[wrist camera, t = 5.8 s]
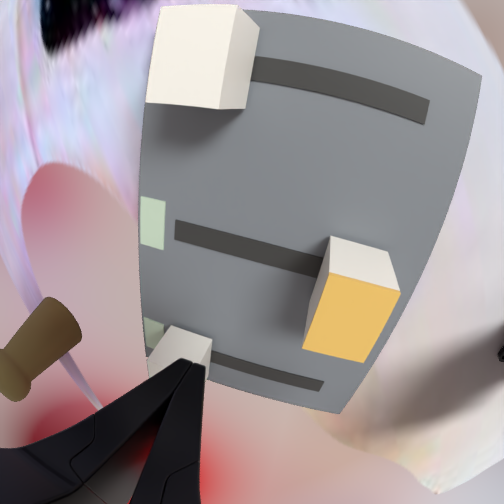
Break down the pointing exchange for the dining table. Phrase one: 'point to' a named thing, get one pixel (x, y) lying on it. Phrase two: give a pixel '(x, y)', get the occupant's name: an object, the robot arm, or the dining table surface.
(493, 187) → the dining table surface
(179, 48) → the block
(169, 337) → the block
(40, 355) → the cork
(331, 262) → the block
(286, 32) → the panel
